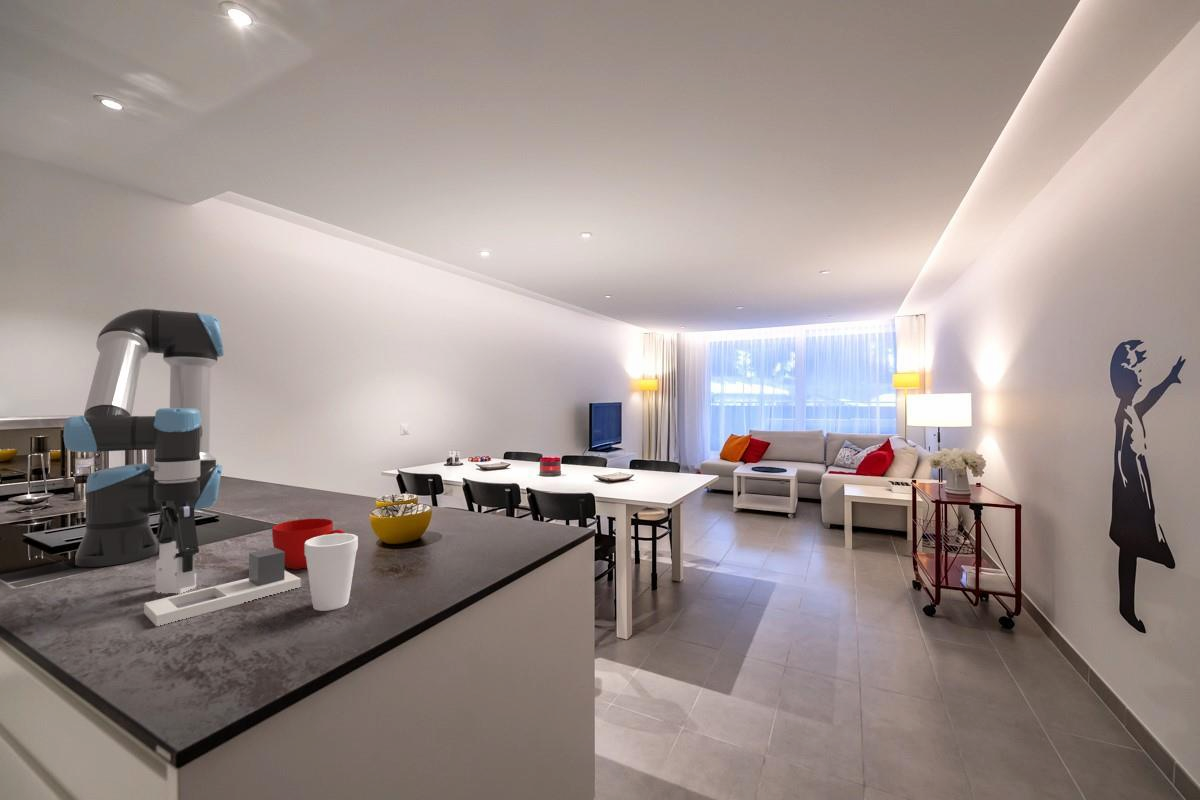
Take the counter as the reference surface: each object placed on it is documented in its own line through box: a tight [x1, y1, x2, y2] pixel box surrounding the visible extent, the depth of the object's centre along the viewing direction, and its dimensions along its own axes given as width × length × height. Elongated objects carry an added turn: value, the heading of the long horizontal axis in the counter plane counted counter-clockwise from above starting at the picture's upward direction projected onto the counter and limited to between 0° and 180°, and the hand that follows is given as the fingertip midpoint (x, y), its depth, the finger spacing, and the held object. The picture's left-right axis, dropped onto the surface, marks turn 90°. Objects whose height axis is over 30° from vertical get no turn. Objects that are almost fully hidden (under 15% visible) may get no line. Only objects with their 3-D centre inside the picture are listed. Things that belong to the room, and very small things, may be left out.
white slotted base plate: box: [143, 547, 302, 627], centre depth 102 cm, size 9×24×8 cm, turn 143°
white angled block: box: [155, 548, 197, 595], centre depth 107 cm, size 4×10×9 cm, turn 84°
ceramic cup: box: [271, 518, 345, 570], centre depth 124 cm, size 13×17×10 cm
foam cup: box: [304, 532, 359, 612], centre depth 101 cm, size 10×9×13 cm
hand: (176, 579), depth 107 cm, fingers open, 13 cm apart
